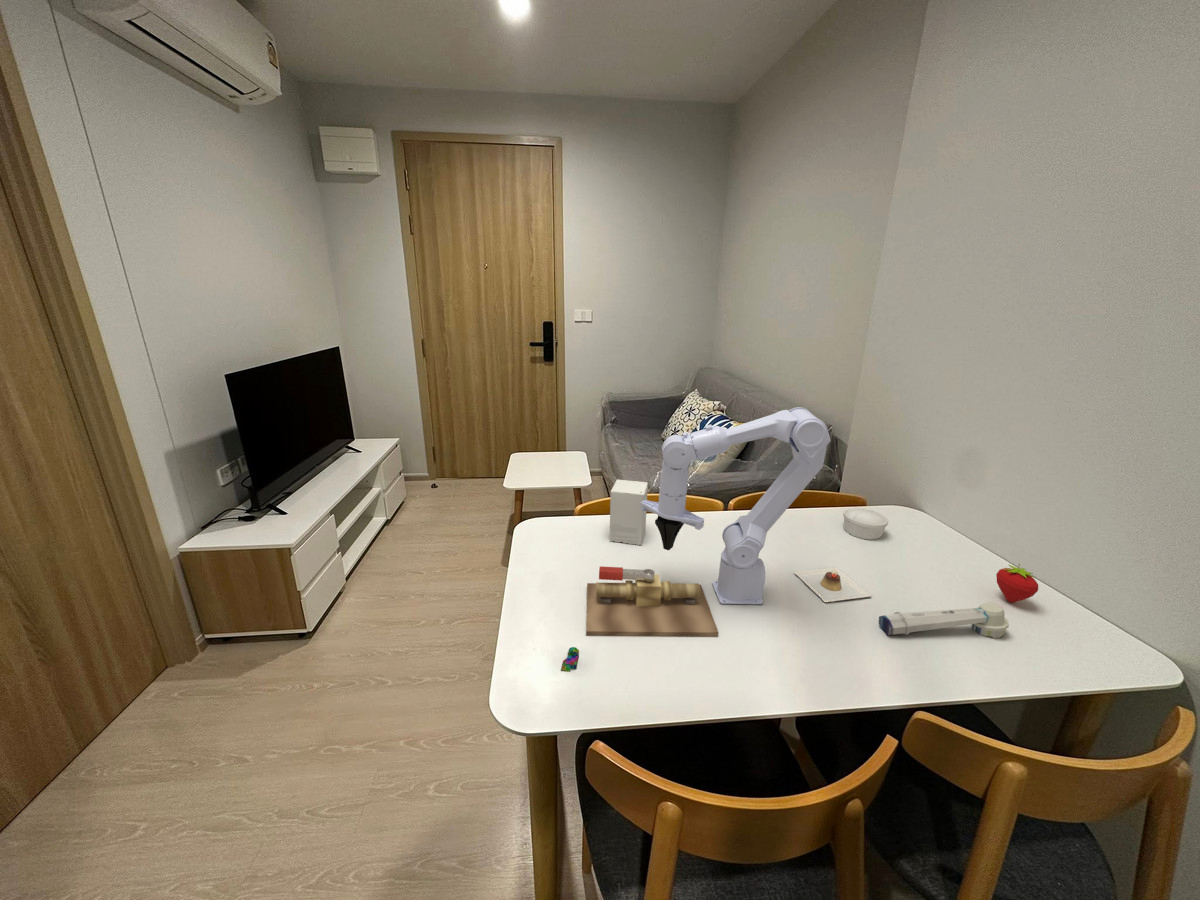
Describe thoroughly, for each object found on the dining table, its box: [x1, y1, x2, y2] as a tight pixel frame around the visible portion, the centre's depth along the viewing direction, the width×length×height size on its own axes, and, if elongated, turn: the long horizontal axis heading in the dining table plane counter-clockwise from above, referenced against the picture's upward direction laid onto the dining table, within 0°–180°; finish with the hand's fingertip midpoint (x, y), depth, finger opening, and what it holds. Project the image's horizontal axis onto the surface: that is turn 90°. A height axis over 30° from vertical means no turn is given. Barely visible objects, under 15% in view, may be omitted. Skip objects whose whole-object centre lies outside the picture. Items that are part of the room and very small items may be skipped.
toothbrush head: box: [878, 602, 1010, 639], centre depth 95 cm, size 5×7×25 cm
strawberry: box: [996, 563, 1039, 604], centre depth 104 cm, size 6×8×10 cm
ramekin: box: [842, 507, 889, 541], centre depth 135 cm, size 11×11×5 cm
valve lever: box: [598, 566, 656, 582], centre depth 100 cm, size 12×2×2 cm, turn 87°
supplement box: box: [608, 479, 649, 546], centre depth 128 cm, size 9×9×15 cm
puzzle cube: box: [560, 646, 580, 673], centre depth 85 cm, size 4×3×2 cm, turn 174°
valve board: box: [585, 574, 720, 638], centre depth 99 cm, size 26×16×6 cm, turn 91°
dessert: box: [793, 566, 873, 603], centre depth 110 cm, size 12×12×5 cm
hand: (668, 547), depth 105 cm, fingers closed
